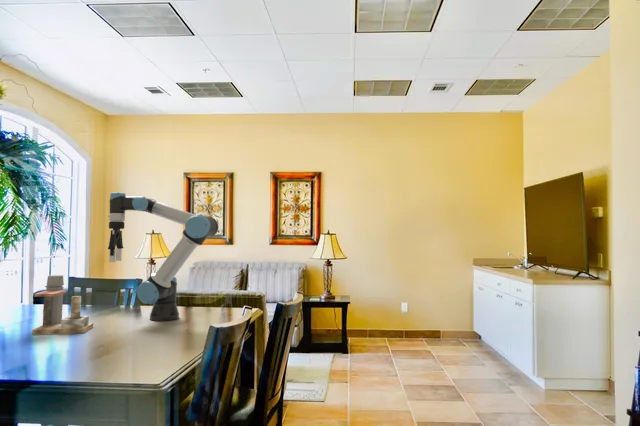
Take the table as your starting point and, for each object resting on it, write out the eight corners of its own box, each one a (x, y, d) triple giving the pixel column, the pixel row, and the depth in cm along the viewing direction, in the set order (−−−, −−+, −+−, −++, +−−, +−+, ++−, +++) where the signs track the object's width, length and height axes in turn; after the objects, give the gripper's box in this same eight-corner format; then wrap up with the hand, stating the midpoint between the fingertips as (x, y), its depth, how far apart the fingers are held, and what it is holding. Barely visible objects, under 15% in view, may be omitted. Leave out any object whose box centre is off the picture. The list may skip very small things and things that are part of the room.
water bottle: (65, 325, 216) (67, 275, 217) (54, 328, 208) (56, 276, 209) (48, 324, 216) (51, 274, 218) (36, 327, 209) (39, 276, 210)
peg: (80, 325, 206) (82, 295, 207) (78, 326, 202) (79, 297, 203) (71, 325, 205) (73, 296, 206) (68, 327, 201) (70, 297, 202)
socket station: (93, 327, 212) (94, 290, 213) (84, 332, 199) (86, 293, 200) (43, 328, 207) (45, 290, 208) (31, 334, 195) (33, 294, 196)
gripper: (115, 222, 240) (113, 260, 239) (102, 220, 216) (101, 262, 214) (129, 222, 241) (128, 260, 240) (118, 220, 217) (117, 262, 216)
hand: (115, 261), depth 227 cm, fingers open, 13 cm apart
